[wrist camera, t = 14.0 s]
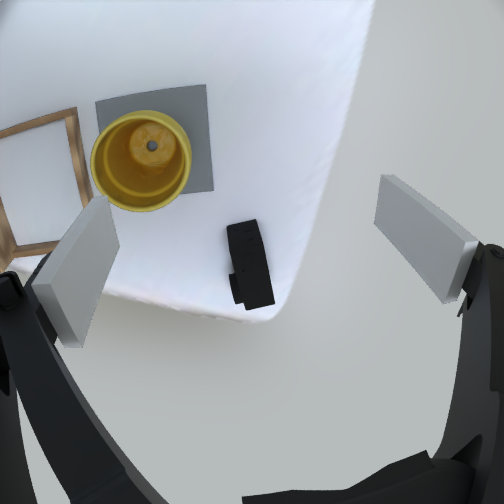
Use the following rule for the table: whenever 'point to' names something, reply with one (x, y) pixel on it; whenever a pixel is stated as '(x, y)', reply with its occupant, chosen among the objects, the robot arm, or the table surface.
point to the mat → (183, 112)
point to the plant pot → (141, 161)
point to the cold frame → (3, 243)
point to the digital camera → (249, 266)
